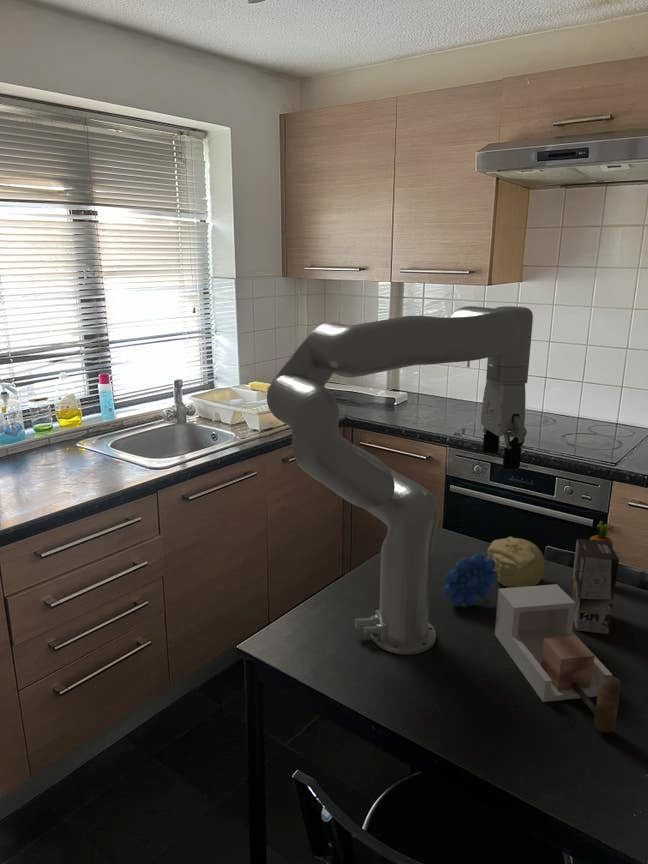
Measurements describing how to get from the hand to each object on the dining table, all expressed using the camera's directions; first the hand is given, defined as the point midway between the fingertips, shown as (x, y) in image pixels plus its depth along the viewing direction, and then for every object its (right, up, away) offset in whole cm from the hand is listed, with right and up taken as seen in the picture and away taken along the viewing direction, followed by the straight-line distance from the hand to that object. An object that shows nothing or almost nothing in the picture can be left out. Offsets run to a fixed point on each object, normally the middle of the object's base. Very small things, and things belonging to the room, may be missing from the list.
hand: (500, 460), depth 125 cm
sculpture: (+9, -29, +21) cm, 37 cm away
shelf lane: (+7, -37, -8) cm, 38 cm away
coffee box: (+20, -33, +6) cm, 39 cm away
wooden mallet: (+8, -38, -19) cm, 44 cm away
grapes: (-4, -31, +12) cm, 34 cm away
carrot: (+27, -29, +21) cm, 45 cm away
